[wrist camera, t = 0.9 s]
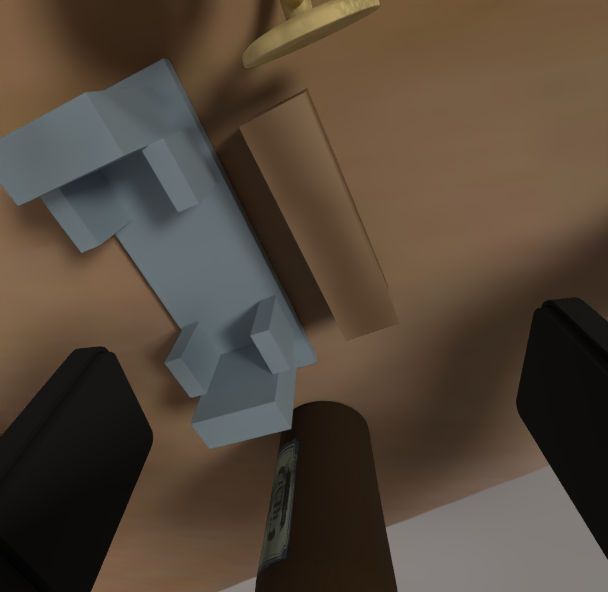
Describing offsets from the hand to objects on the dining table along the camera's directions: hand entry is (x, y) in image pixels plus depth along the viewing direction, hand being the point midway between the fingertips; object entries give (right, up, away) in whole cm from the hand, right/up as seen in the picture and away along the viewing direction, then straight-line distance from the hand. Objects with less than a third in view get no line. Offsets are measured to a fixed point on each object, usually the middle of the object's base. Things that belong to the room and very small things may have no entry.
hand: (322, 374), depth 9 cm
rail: (+1, +9, +21) cm, 22 cm away
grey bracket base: (-9, +5, +23) cm, 25 cm away
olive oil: (+2, -13, +33) cm, 35 cm away
